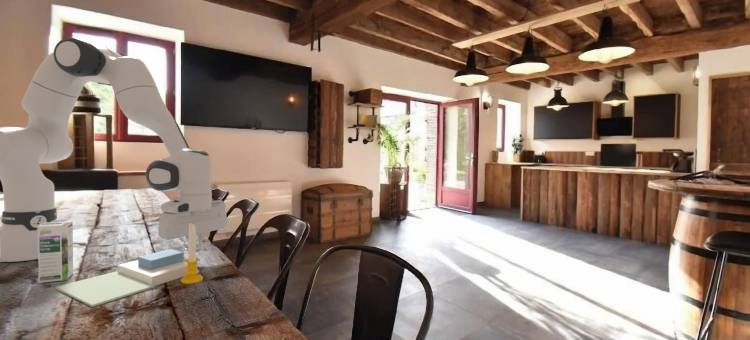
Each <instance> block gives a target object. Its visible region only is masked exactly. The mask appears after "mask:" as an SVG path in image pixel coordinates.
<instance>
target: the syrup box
mask: <svg viewBox="0 0 750 340" xmlns="http://www.w3.org/2000/svg"><path fill="white" fill-rule="evenodd" d="M73 224H74V223H73V220H70V221H57V222H47V223H42V224H40V225H39V226H38V228H37V236H38V259H37V260H38V261H37V262H38V263H37V264H38V267H37V268H38V269H37V270H38V272H37V273H38V276H37V277H38V279H37V282H38V284H44V283H51V282H61V281H62V282H64V281H68V280H69V278H71V276H72V275H73V274H74V241H73V240H74V235H73V233H74V230H73V228H74V227H73Z"/></svg>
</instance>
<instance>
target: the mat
mask: <svg viewBox="0 0 750 340" xmlns="http://www.w3.org/2000/svg"><path fill="white" fill-rule="evenodd" d="M154 288H155V286H154V285H151V284H149V283H146V282H143V281H141V280H138V279H135V278H133V277H130V276H127V275H125V274H122V273H119V272H118V270H117V271H112V272H108V273H104V274H101V275H96V276H93V277H89V278H85V279H81V280H77V281H72V282H70V283H65V284H62V285H57V286H55V288H54V289H55V290H56V291H59V292H61V293H63V294H65V295H67V296H69V297H71V298H72V299H75V300H77V301H79V302H82V303H83V304H85V305H87V306H89V307H92V308H94V307H97V306H101V305H103V304H107V303H111V302H114V301H116V300H119V299H123V298H125V297H128V296H131V295H135V294H138V293H141V292H144V291H147V290H150V289H154Z"/></svg>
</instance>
